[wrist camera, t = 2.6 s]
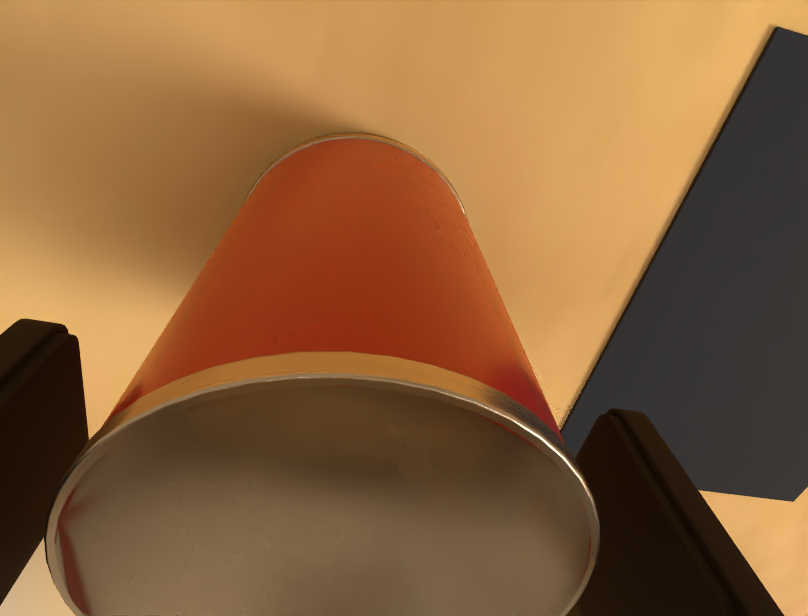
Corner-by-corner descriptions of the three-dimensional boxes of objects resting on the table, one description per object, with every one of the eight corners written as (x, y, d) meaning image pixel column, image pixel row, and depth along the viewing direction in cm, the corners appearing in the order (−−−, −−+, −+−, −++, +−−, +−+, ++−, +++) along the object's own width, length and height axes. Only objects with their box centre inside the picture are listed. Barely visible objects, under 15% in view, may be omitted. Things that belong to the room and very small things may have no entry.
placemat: (775, 26, 12) (779, 26, 12) (1134, 135, 14) (1138, 136, 14) (540, 469, 20) (541, 470, 20) (791, 499, 22) (793, 501, 22)
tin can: (248, 106, 13) (-8, 320, 4) (499, 162, 14) (708, 426, 5) (233, 324, 16) (73, 694, 7) (435, 356, 17) (500, 711, 8)
